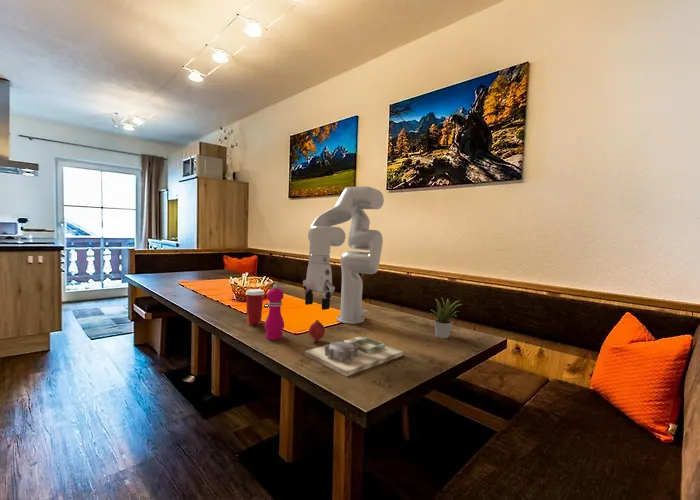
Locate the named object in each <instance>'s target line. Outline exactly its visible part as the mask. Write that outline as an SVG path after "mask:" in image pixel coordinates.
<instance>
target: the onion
mask: <svg viewBox="0 0 700 500" xmlns="http://www.w3.org/2000/svg"><path fill="white" fill-rule="evenodd" d="M325 333H326V331H325V326H324V325H323V324H322V323H321V322H320V320H319V319H316V320H315V322H313V323H312V324H310V326H309V329H308V334H309V336H310V338H311V339H313V340H314V341H315V342H318V341H320V340H321V339H322V338H323V337H325Z"/></svg>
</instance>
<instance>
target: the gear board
mask: <svg viewBox="0 0 700 500" xmlns="http://www.w3.org/2000/svg"><path fill="white" fill-rule="evenodd" d="M403 355H404V351H403V350H400V349H398V348H396V347H392V346H389V345H387V344H386V343H383V342H381V341H378V340H375V339H372V338H369V337H364V336H363V335H359V336H356V337H352V338H348V339H344V340H340V341H329V343H328V344H325V345H321V346H318V347H315V348H311V349H308V350H305V351H304V356H305V357H307V358H309V359H311V360H313V361H315V362H317V363H319V364H321V365H322V366H325V367H327V368H328V369H330V370H333V371H335V372H337V373H339V374H341V375H343V376H345V377H348V376H352V375H355V374H357V373H360V372H362V371H366V370H368V369H371V368H374V367H377V366H380V365H382V364H384V363H387V362H390V361H391V360H392V361H393V360H394V359H398V358H400V357H402V356H403Z"/></svg>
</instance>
